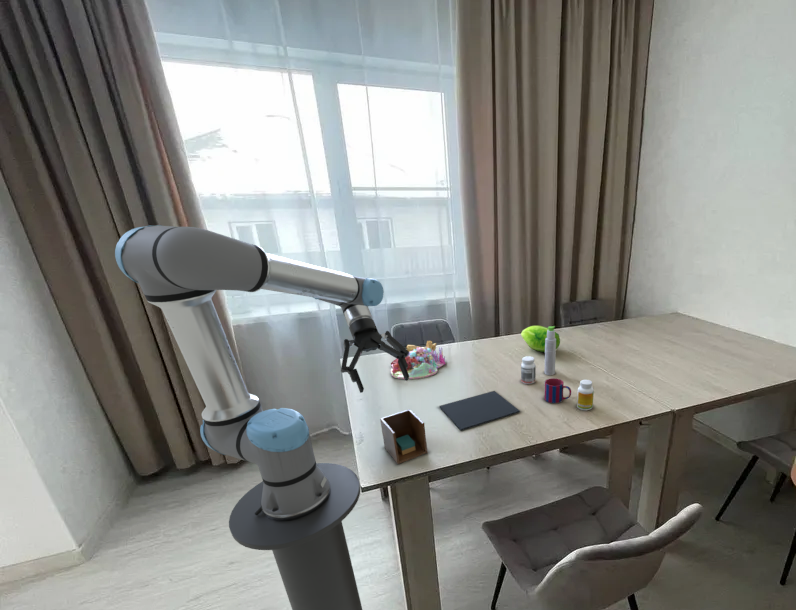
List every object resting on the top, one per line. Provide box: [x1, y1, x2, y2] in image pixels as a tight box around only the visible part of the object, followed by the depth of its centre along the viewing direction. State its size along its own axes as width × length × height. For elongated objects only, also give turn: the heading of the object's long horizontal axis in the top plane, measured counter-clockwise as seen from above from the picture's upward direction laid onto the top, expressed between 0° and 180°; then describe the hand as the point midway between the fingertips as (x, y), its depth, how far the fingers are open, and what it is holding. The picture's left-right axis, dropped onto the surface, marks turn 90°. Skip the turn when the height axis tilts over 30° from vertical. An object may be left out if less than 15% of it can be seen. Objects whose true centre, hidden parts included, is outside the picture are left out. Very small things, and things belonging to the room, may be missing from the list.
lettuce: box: [520, 325, 561, 353], centre depth 188 cm, size 13×23×12 cm, turn 41°
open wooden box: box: [379, 408, 429, 465], centre depth 114 cm, size 10×9×10 cm
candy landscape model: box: [390, 340, 446, 380], centre depth 171 cm, size 25×24×9 cm
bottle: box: [544, 325, 557, 376], centre depth 161 cm, size 4×4×20 cm
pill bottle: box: [520, 355, 537, 385], centre depth 156 cm, size 6×6×10 cm
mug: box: [543, 377, 572, 404], centre depth 142 cm, size 7×10×7 cm
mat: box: [438, 390, 521, 432], centre depth 137 cm, size 22×18×1 cm
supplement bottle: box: [576, 379, 595, 411], centre depth 137 cm, size 5×5×10 cm
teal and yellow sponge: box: [396, 435, 415, 451], centre depth 115 cm, size 5×4×1 cm
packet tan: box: [397, 445, 416, 455], centre depth 115 cm, size 5×4×1 cm
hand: (385, 384), depth 117 cm, fingers open, 13 cm apart
